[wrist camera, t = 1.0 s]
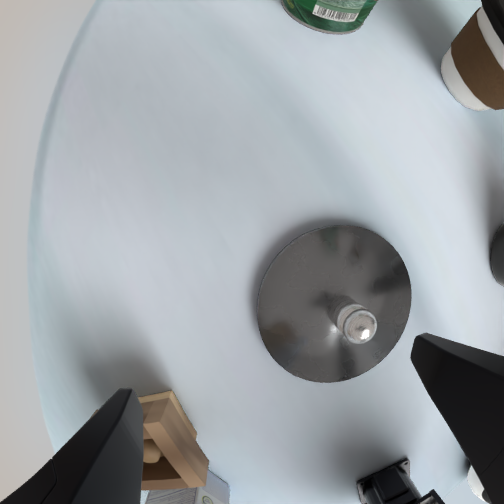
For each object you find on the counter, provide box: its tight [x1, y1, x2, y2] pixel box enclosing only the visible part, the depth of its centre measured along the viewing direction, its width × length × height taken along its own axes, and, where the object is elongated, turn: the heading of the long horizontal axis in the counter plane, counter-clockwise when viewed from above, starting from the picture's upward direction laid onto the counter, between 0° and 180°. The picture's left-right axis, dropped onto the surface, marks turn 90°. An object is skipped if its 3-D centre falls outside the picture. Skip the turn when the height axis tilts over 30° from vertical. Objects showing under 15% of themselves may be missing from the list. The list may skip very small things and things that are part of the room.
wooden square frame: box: [91, 398, 209, 490], centre depth 17 cm, size 7×7×3 cm
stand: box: [138, 390, 197, 463], centre depth 19 cm, size 5×5×5 cm
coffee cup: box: [441, 0, 504, 111], centre depth 14 cm, size 11×11×12 cm
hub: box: [257, 225, 411, 383], centre depth 18 cm, size 12×12×6 cm
